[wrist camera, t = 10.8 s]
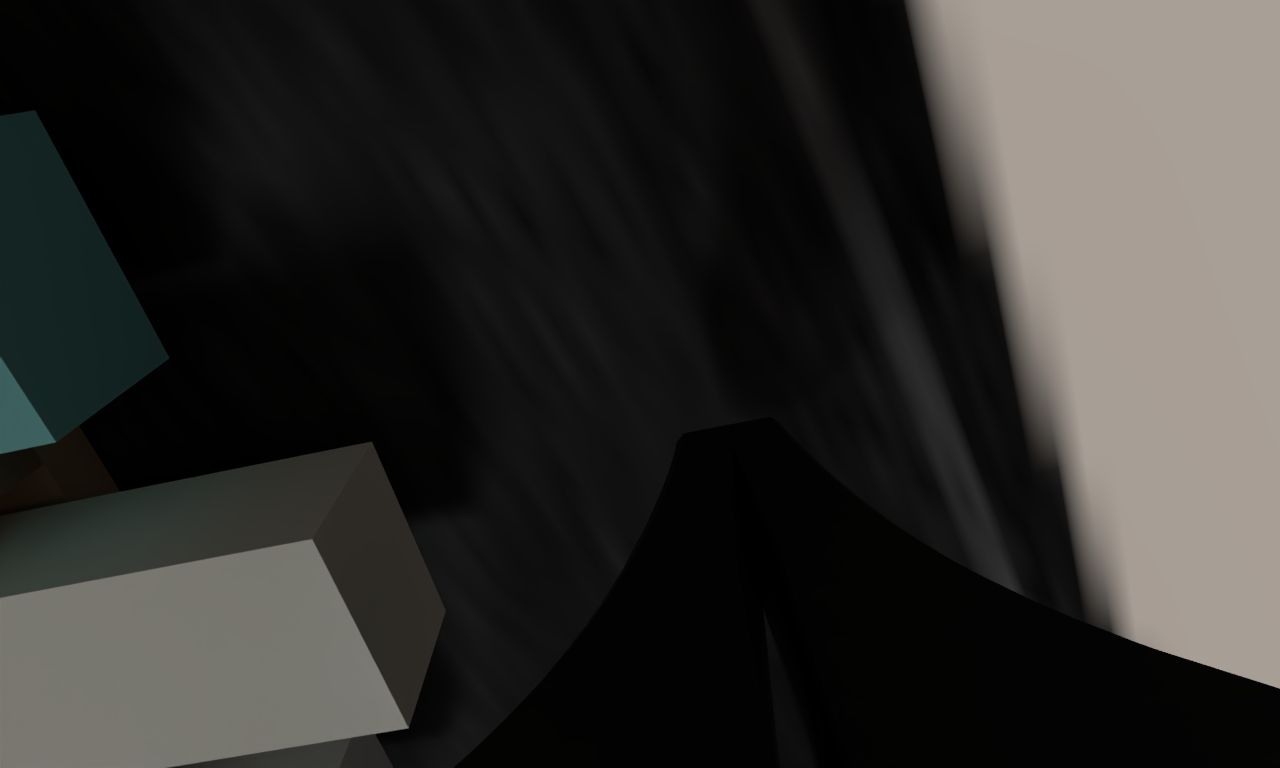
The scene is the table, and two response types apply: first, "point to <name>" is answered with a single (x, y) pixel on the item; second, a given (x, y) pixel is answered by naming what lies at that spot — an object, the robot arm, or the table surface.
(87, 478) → the walnut key block
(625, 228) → the table surface
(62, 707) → the off-white rectangular box
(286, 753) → the light grey rectangular block
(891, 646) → the robot arm
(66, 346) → the teal flat slab
